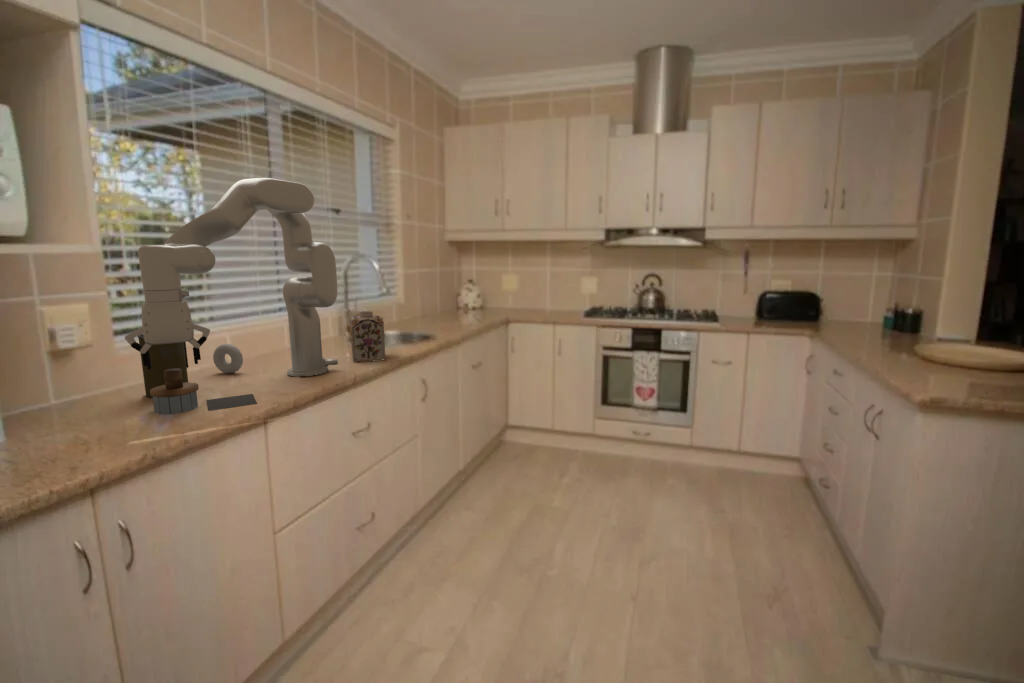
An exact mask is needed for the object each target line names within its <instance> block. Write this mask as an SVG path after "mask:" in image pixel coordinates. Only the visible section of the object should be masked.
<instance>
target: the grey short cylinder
mask: <svg viewBox="0 0 1024 683" xmlns="http://www.w3.org/2000/svg"><path fill="white" fill-rule="evenodd" d="M152 402H153V409H154V410H153V411H154V413H155V414H158V415H175V414H181V413H186V412H190V411H193V410H195V409H197V408H198V407H199V404H198V403H199V402H198V394H197V391H195V392H192V393H189V394H185V395H180V396H172V397H153V398H152Z"/></svg>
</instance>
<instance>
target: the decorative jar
mask: <svg viewBox="0 0 1024 683" xmlns="http://www.w3.org/2000/svg"><path fill="white" fill-rule="evenodd" d="M349 320H350V322H349V323H350V337H351V342H350V343H351V354H352V361H353V363H361V362H360V361H368V362H374V361H373V360H382V359H386V346H385V344H386V342H385V336H386V335H385V324H384V318H383V316H381V315H378V314H377V315H376V314H375V315H374V313H373V311H372V310H371V311H370V310H362V311H359V315H353V316H351V317H350V318H349Z"/></svg>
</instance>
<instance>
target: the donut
mask: <svg viewBox="0 0 1024 683" xmlns="http://www.w3.org/2000/svg"><path fill="white" fill-rule="evenodd" d="M226 355H228V356H229V357H230V359H231V360H230V363H229V362H228V361H226ZM212 360H213V364H214V365H215V368H217V369H218V371H220V372H222V373H224V374H228V373H229V374H234V373H237V372H238V371H240V370H241V368H242V367H243V364H244V358H243V354H242V352H241V350H240V349H239V348H238V347H237V346H235V345H233V344H230V343H223V344H220V345H218V346H217V347H216V348H215V350H214V351H213V356H212Z"/></svg>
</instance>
